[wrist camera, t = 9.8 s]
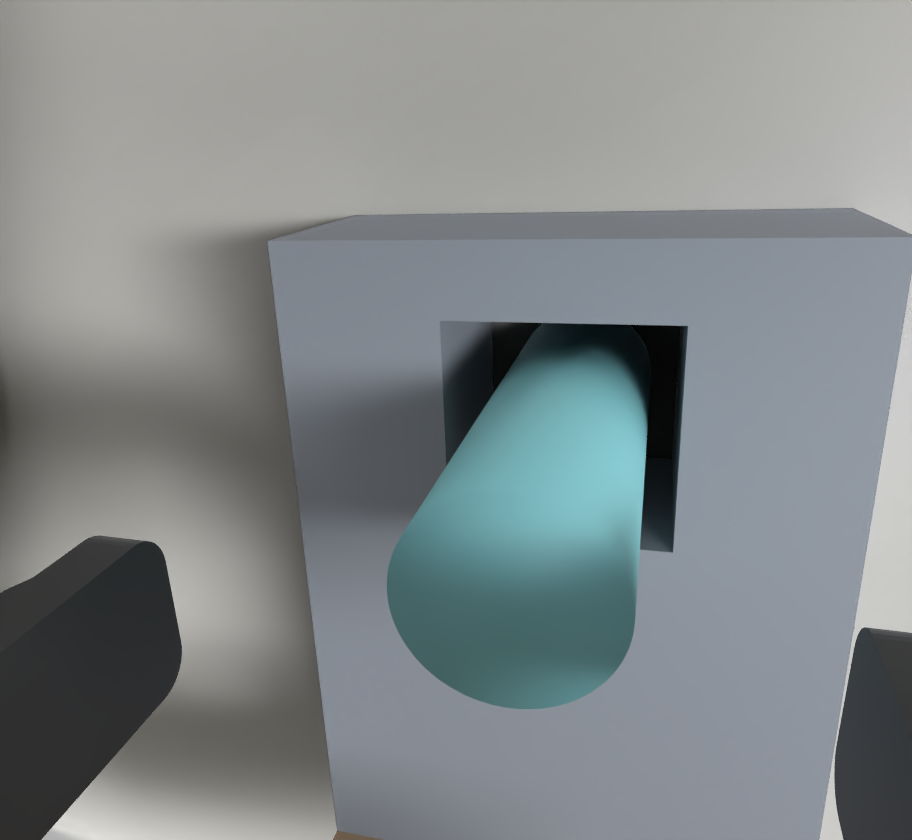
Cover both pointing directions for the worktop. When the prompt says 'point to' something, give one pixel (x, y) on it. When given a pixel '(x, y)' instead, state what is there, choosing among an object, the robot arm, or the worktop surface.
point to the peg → (535, 527)
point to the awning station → (663, 513)
